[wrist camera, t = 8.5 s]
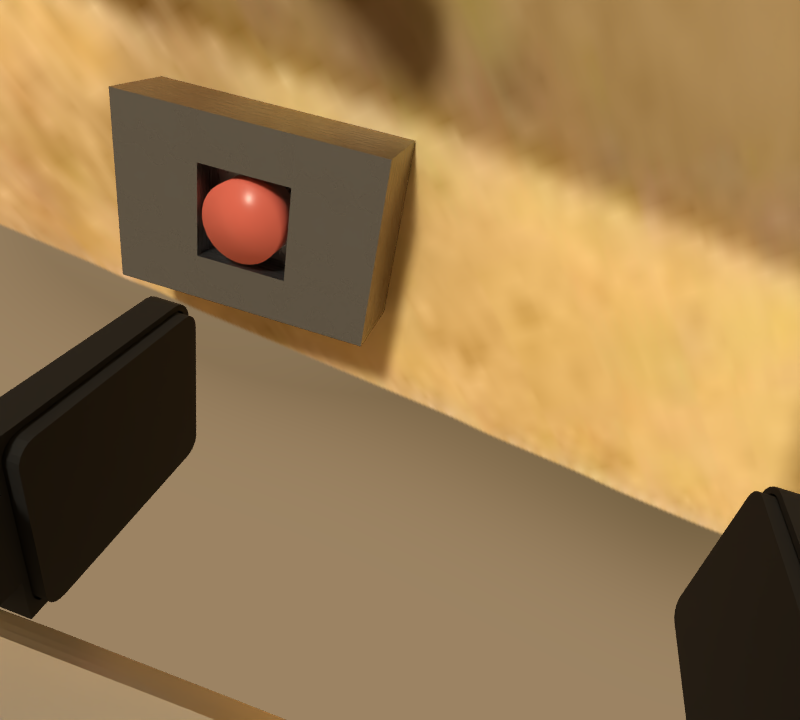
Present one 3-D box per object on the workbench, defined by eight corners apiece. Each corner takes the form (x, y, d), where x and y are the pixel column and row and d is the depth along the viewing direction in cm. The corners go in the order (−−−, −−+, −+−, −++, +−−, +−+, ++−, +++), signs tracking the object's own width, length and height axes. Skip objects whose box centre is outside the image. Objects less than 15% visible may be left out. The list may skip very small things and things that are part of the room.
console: (415, 140, 44) (391, 159, 39) (383, 312, 51) (360, 346, 46) (161, 76, 47) (108, 86, 42) (166, 248, 54) (122, 274, 49)
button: (300, 182, 44) (282, 194, 42) (293, 259, 48) (276, 274, 45) (223, 162, 45) (201, 172, 43) (222, 238, 48) (201, 252, 46)
